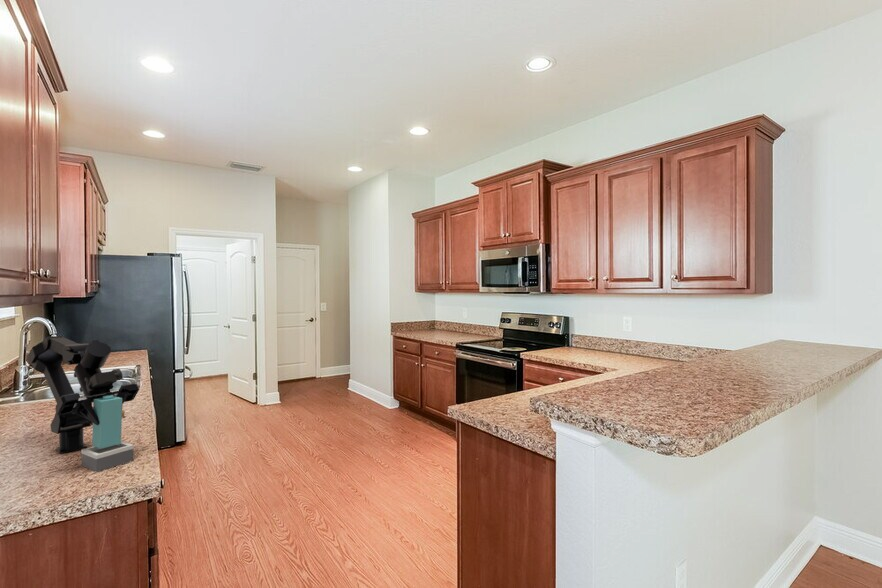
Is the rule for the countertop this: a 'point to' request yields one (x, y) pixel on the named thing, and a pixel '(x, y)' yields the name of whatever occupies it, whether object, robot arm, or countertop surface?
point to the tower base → (107, 456)
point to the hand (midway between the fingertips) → (109, 421)
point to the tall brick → (107, 421)
